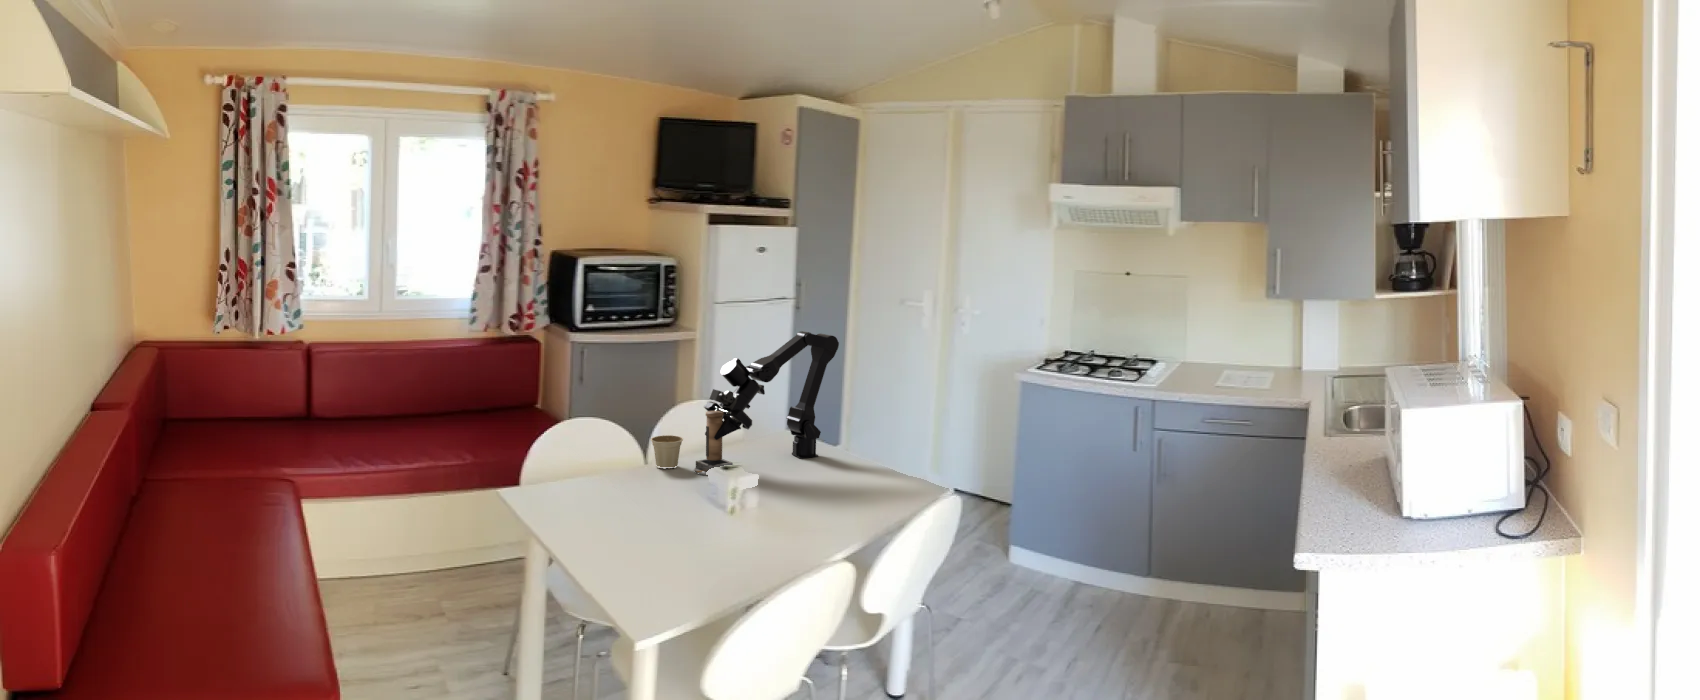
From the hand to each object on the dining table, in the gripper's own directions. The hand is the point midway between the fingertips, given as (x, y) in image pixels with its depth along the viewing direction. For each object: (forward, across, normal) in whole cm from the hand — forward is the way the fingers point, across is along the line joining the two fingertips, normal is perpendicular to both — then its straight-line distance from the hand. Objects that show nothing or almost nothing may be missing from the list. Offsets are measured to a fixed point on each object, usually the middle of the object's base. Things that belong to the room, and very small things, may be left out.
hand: (710, 437), depth 300 cm
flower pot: (+13, -12, +2) cm, 17 cm away
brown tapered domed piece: (+4, 0, +6) cm, 7 cm away
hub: (+6, 0, +8) cm, 10 cm away
